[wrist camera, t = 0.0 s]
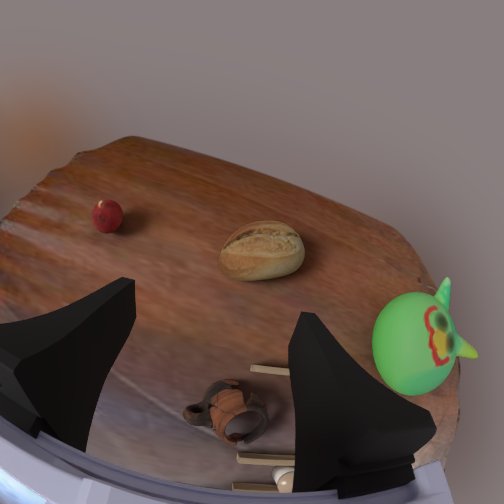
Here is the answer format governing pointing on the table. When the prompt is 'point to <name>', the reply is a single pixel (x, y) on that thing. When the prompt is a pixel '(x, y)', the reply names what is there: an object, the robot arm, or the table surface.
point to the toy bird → (417, 341)
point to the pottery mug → (226, 411)
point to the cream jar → (283, 478)
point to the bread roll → (261, 252)
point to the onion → (107, 216)
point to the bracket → (263, 458)
